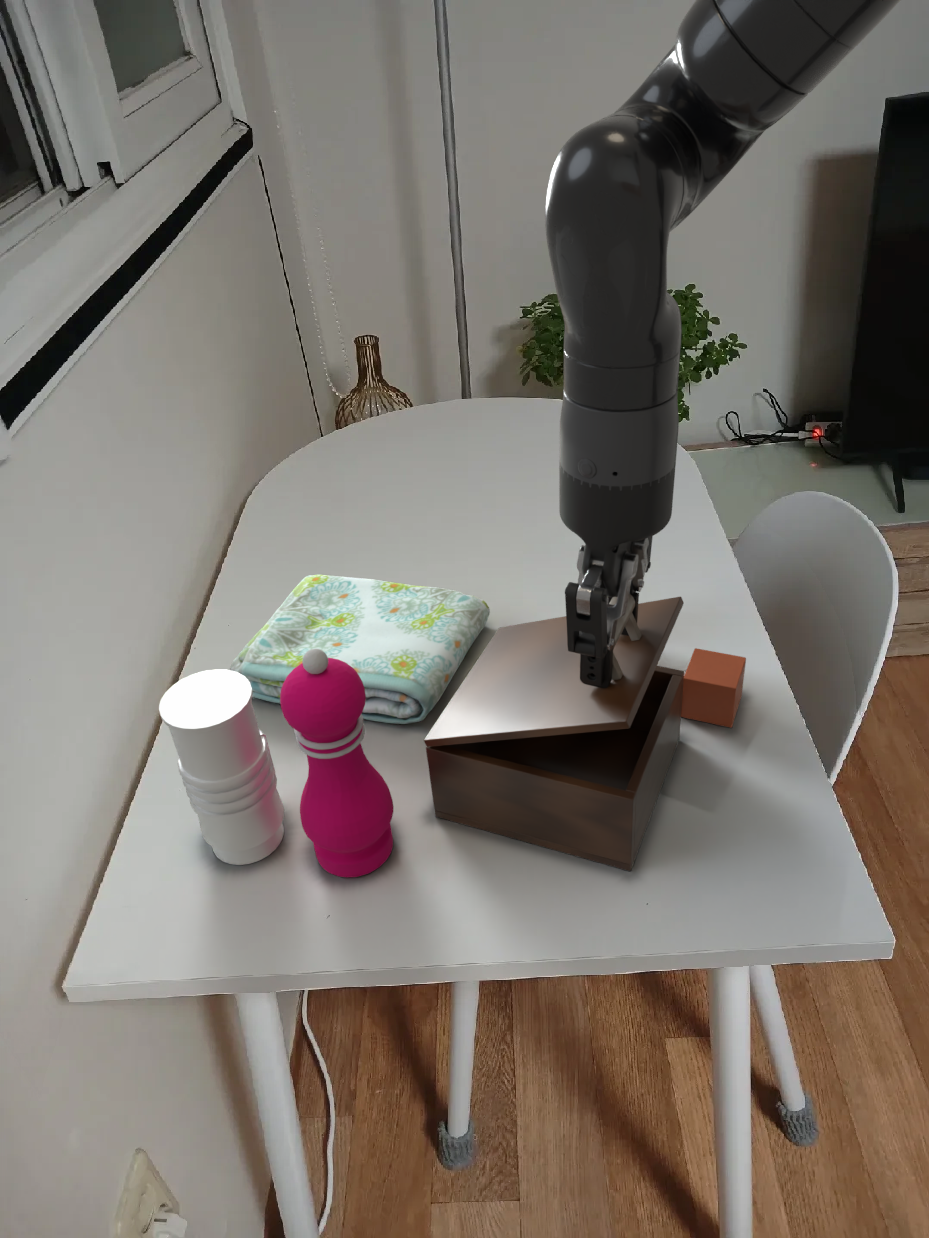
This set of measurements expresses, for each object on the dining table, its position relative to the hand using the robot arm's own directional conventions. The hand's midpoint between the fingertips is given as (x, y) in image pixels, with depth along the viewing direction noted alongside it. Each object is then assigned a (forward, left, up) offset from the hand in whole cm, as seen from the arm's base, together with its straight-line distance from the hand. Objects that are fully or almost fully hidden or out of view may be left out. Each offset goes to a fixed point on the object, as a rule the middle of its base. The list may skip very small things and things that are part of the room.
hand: (609, 655), depth 72 cm
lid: (+4, 0, -3) cm, 5 cm away
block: (-6, -13, -14) cm, 20 cm away
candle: (+26, +15, -14) cm, 33 cm away
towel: (+28, -9, -14) cm, 33 cm away
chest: (+4, 0, -14) cm, 15 cm away
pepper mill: (+17, +13, -14) cm, 26 cm away
